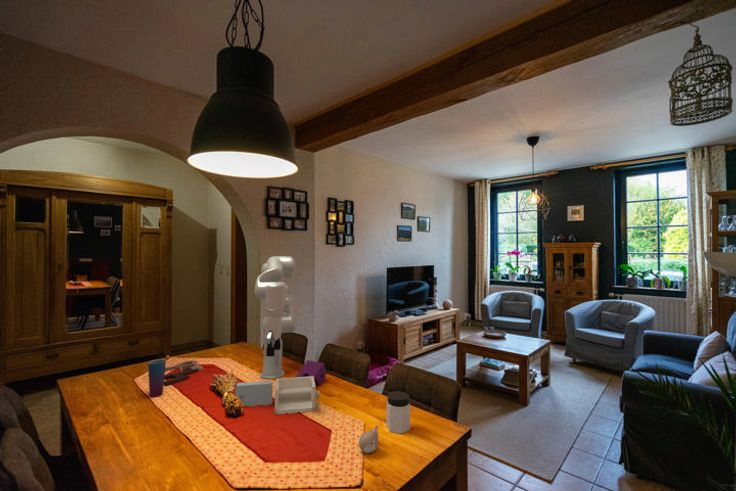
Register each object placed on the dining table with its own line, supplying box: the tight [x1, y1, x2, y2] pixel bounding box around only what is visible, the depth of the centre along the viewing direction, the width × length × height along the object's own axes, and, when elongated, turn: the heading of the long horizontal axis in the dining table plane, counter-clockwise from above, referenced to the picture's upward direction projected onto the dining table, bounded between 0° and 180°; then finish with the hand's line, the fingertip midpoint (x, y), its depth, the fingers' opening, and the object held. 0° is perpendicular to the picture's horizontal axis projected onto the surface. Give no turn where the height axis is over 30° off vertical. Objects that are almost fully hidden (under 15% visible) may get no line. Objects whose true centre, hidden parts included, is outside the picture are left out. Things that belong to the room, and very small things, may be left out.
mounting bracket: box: [295, 359, 327, 385], centre depth 166 cm, size 10×9×19 cm
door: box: [235, 380, 274, 407], centre depth 144 cm, size 4×15×9 cm, turn 103°
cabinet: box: [274, 376, 321, 415], centre depth 142 cm, size 14×18×10 cm
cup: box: [147, 358, 167, 398], centre depth 152 cm, size 7×7×15 cm
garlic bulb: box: [358, 424, 379, 454], centre depth 111 cm, size 7×6×8 cm
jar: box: [386, 390, 411, 435], centre depth 126 cm, size 9×8×12 cm
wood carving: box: [164, 359, 204, 387], centre depth 180 cm, size 28×2×24 cm
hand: (273, 352), depth 144 cm, fingers open, 9 cm apart
